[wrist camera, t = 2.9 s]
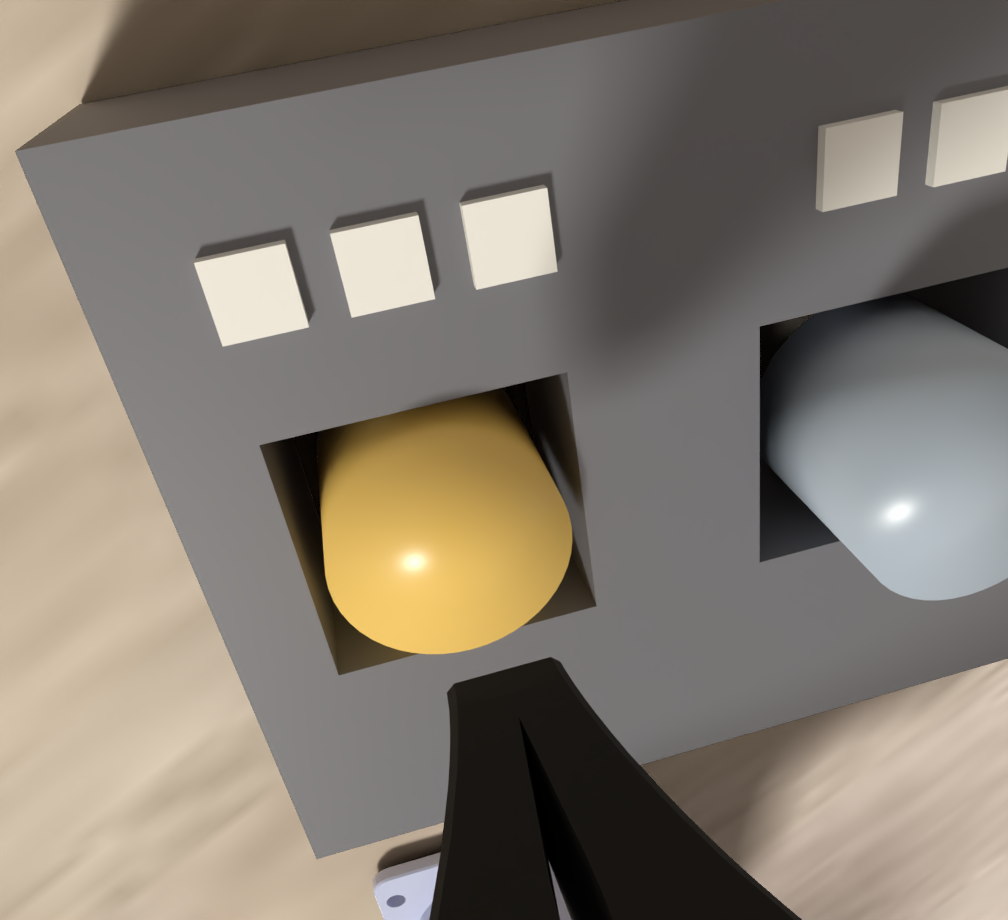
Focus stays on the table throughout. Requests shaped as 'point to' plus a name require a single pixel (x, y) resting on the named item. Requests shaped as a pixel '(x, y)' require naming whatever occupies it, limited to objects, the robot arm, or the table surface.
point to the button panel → (541, 343)
